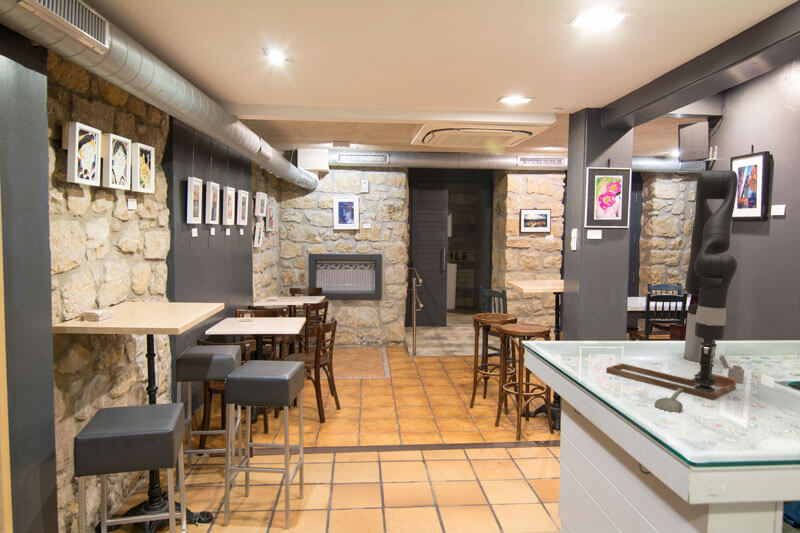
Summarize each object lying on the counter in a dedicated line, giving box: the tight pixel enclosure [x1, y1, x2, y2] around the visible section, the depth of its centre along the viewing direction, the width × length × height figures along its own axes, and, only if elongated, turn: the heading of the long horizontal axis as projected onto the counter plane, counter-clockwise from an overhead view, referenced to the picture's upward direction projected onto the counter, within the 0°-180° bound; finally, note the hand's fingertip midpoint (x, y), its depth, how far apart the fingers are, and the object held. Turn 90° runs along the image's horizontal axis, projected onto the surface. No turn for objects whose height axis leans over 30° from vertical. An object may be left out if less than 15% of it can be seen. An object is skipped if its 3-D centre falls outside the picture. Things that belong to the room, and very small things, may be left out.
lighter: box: [718, 354, 745, 385], centre depth 163 cm, size 7×2×8 cm, turn 56°
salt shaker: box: [693, 355, 717, 393], centre depth 151 cm, size 6×6×12 cm
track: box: [605, 362, 737, 401], centre depth 162 cm, size 18×32×3 cm, turn 40°
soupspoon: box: [654, 388, 684, 414], centre depth 142 cm, size 22×3×7 cm
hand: (705, 377), depth 152 cm, fingers closed on salt shaker, 6 cm apart
